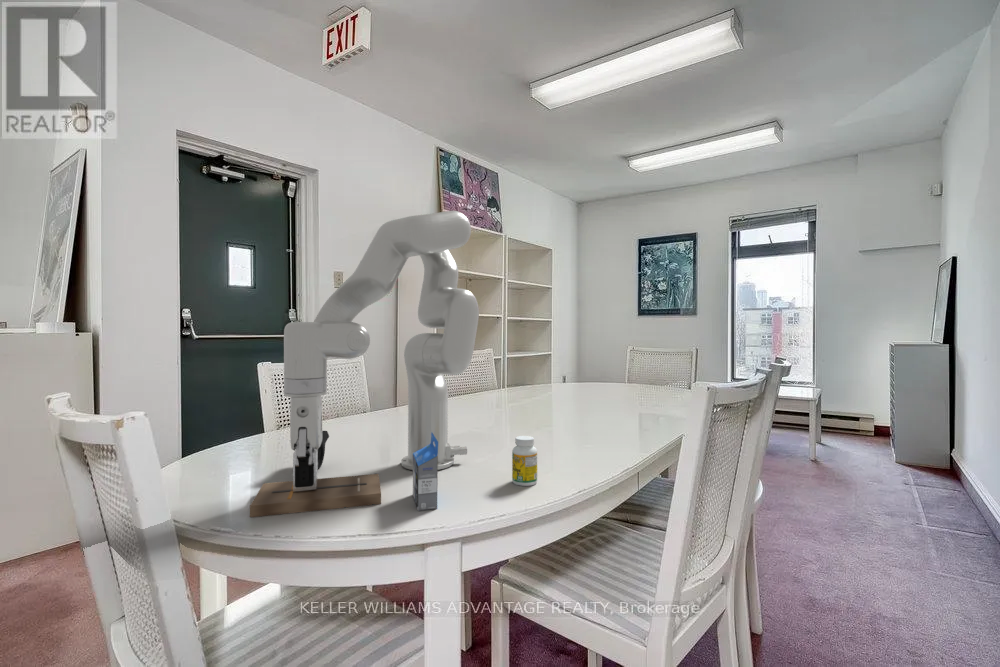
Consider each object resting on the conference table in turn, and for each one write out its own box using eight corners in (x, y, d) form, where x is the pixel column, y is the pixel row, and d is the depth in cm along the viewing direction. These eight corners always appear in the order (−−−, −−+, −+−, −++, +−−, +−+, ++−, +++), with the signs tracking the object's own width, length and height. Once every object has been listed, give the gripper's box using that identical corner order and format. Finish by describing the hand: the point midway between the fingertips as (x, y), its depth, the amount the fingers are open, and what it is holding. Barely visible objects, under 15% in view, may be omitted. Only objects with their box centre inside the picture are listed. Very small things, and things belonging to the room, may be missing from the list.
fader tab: (317, 484, 90) (317, 448, 90) (316, 489, 87) (316, 452, 87) (295, 486, 89) (295, 450, 89) (293, 491, 86) (293, 454, 86)
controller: (294, 478, 101) (294, 432, 100) (312, 461, 113) (312, 421, 113) (314, 477, 101) (314, 432, 101) (330, 461, 113) (331, 420, 113)
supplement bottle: (541, 484, 97) (542, 439, 97) (519, 488, 95) (519, 441, 95) (529, 477, 102) (529, 433, 102) (507, 480, 100) (508, 436, 100)
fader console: (378, 483, 98) (378, 473, 98) (381, 503, 86) (381, 492, 86) (263, 493, 91) (263, 482, 91) (249, 517, 80) (249, 505, 80)
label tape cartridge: (411, 494, 91) (412, 432, 91) (431, 492, 92) (431, 431, 92) (417, 511, 83) (417, 443, 83) (438, 509, 84) (439, 441, 84)
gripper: (323, 391, 81) (323, 496, 81) (329, 381, 97) (328, 468, 97) (276, 393, 79) (276, 500, 79) (290, 382, 94) (290, 472, 95)
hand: (305, 482), depth 88 cm, fingers closed on fader tab, 3 cm apart
